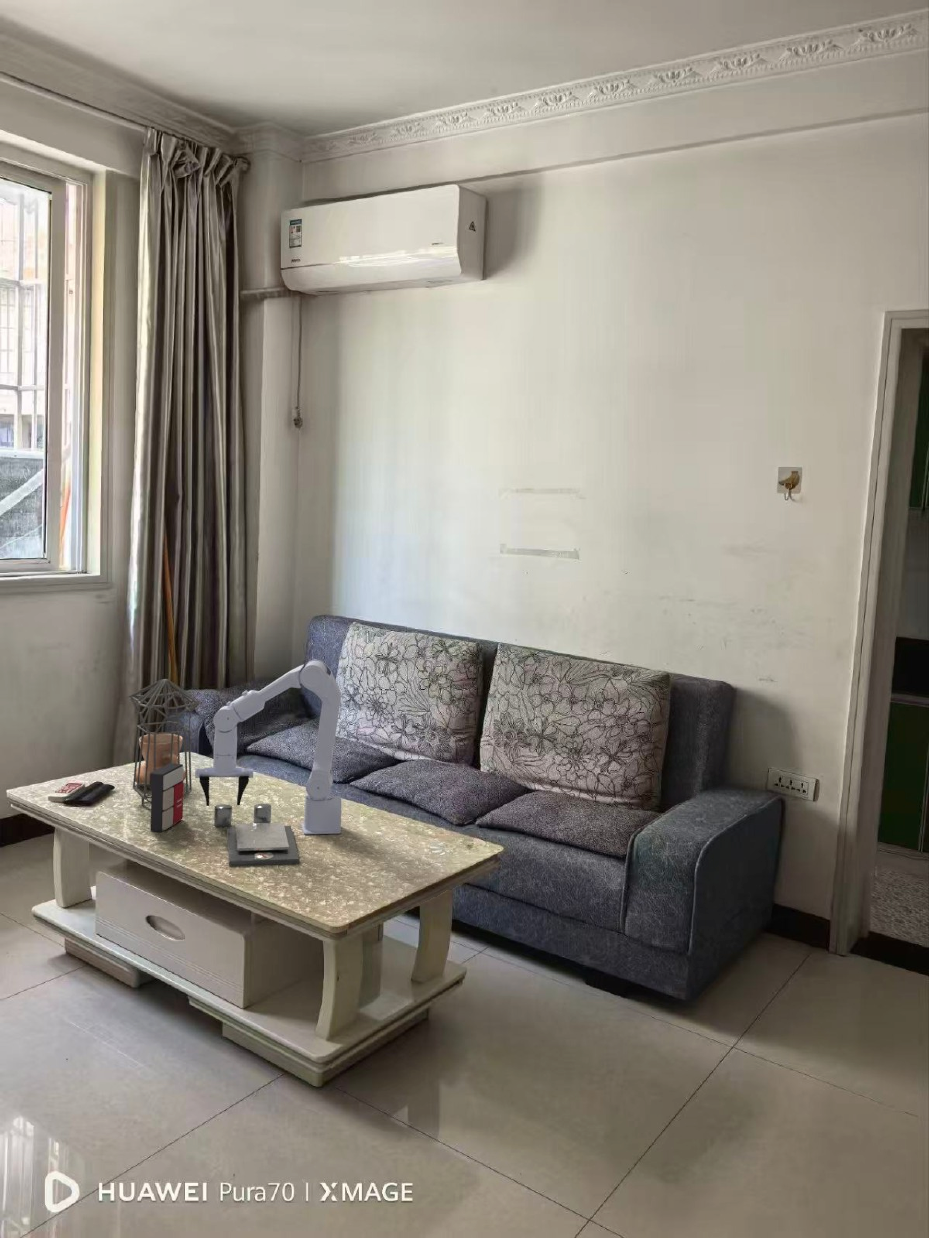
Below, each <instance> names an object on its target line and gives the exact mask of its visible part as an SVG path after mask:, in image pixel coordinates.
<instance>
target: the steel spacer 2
mask: <svg viewBox="0 0 929 1238" xmlns="http://www.w3.org/2000/svg"><path fill="white" fill-rule="evenodd" d="M253 806H254V807H253V823H272V821H271V820H272V805H271V804H269V803H257V804H254V805H253Z"/></svg>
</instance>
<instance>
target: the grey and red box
mask: <svg viewBox="0 0 929 1238" xmlns="http://www.w3.org/2000/svg"><path fill="white" fill-rule="evenodd" d="M183 770H185V766H184V764H182V763H180V764H176V763H169V764H167V765H165V766H163V767H161V768H159V769H157V770H155V771H153V772H151V773H150V783H149V787H150V788H149V790H150V792H151V793H150V794H151V798H150V801H151V803H150V809H151V810H150V831H151V832H158V833H162V832H164V831H165V830H167V829H169V828H170V827H172V826H173V825H175V824H177V823H179V822H180V821H181V820H183V816H184V815H183V814H184V798H183V793H185V791H184V788H185V787H184V785H185V783H184V781H183Z"/></svg>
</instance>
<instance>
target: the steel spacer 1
mask: <svg viewBox="0 0 929 1238" xmlns="http://www.w3.org/2000/svg"><path fill="white" fill-rule="evenodd" d="M213 814H214V815H213V817H214V818H213V826H215V827H214V828H216V829H227V827H230V826H231V827H232V825H233V824H232V821H233V820H232V819H233V806H232V805H231V804H227V803H226V804H220V803H219V804H216V805H215V806H214V813H213Z"/></svg>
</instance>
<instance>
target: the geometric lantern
mask: <svg viewBox="0 0 929 1238" xmlns="http://www.w3.org/2000/svg"><path fill="white" fill-rule="evenodd" d="M161 691H162V693H161ZM168 691H169V693H168ZM144 692H146V693H144ZM142 693H144V695H143V694H142ZM160 693H161V694H160ZM140 694H142V695H140ZM177 694H179V695H181V697H182V700H183V703H184V704H183V705H179V704H178V702H177V700H176V697H175V696H177ZM168 696H170V697H169V698H168ZM158 697H160V698H161V699H160V704H158V705H156V704H155V703H156V702H157V700H158ZM129 698H130V701H131V702H132V704H133V706H134V713H135V714H136V713H137V715H139V721H140V724H138V725H136V727H137V738H136V746H135V747H136V748H135V761H134V772H133V781H132V783H133V784H132V789H133V791H135V792H136V793H137V794H138V795H139V796H140V798H141V805H140V806H142V807H144V808H145V809H147V810H149V811H151V807H149V806H147V805H145V804H151V800H150V799H151V793H150V794H147V788H146V785H149V783H147V772H148V759H149V746H150V734H152V735H154V771H155V770H156V735H157V734H171V751H170V763H172V750H173V734H174V735H175V734H176V735H177V740H178V757H177V758H178V764H181V759H180V758H181V749H180V740H179V736H180V733H183V737H184V738H183V739H184V740H183V744H184V745H183V747H184V770H185V775H186V778H185V784H184V788H185V792H184V793H183V799H184V798H185V797H186V796H188V795H190V793H192V789H193V787H192V785H193V784H192V761H191V760H192V758H191V757H192V756H191V755H192V754H191V750H192V749H191V715H192V712H193V711H194V710H196V708H197V707H199V705H201V704H202V701H200V700H199V699H198V698H196V697H194V696H193V694H190V693H189V692H187V691H186V690H184V689H183V688H182V687H180V686H179V685H177V684H176V683H174V682H173V681H171V680H170V679H167V678H164V679H160V680H158V681H155V682H154V683H152V684H150V685H148V686H146V687H144V688H142V689H140V690H138V691H136V692H134V693H131V695H128V696H127V697H126V699H129ZM154 698H155V699H154ZM147 699H149V700H148V701H146V700H147ZM153 700H154V701H153ZM163 700H164V703H163ZM171 700H173V703H174V705H175V706H168V703H169V702H170V701H171ZM143 703H144V704H143ZM140 706H141V707H143V709H142V711H140ZM161 708H162V709H164V711H165V713H164V712H163V711H162V710H160V709H161ZM181 708H183V710H182V711H181V712H179V713H178V709H181ZM151 709H153V710H155V711H156V712H158V713H159V714H160V715H162V716H164V717H165V719H164V720H163V721H162V722H161V721H160V722H150V723H146V720H147V717H148V715H149V712H150V710H151ZM146 710H147V711H146ZM168 710H175V715H174V714H173V715H171V714H170V712H169V711H168ZM145 711H146V713H145V715H144V717H143V714H144V712H145ZM186 712H189V716H188V717H189V718H188V719H189V721H188V727H186V726H185V725H183V723H182V722H183V721H182V718H183V716H184V714H185V713H186ZM174 718H177V721H176V720H175V719H174ZM167 719H171V720H172V721H167ZM169 723H170V724H171V731H167V732H166V731H164V732H158V731H159V730H160V728H161V727H162V726H163V725H164V724H169ZM150 725H159V726H158V728H157V729H156V730H155V731H154V732H151V731H149V729H148V726H150ZM175 725H176V726H177V729H176V731H174V730H175ZM180 726H181V728H182V730H180ZM145 734H146V735H148V745H147V758H146V762H145V763H146V771H145V783H142V784H139V778H140V768H141V766H142V759H143V755H142V748H143V738H144V735H145ZM140 735H141V736H140ZM140 737H142V738H141V748H140V745H139V738H140ZM187 739H188V741H187ZM187 743H188V745H187ZM187 746H188V751H187ZM139 749H140V750H139ZM138 757H139V758H138ZM137 766H138V768H137ZM137 769H138V778H137V783H136V782H135V781H136V770H137ZM188 778H189V779H188ZM142 785H144V787H143V786H142ZM140 787H143V792H142V790H141V789H140ZM145 800H146V801H145Z"/></svg>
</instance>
